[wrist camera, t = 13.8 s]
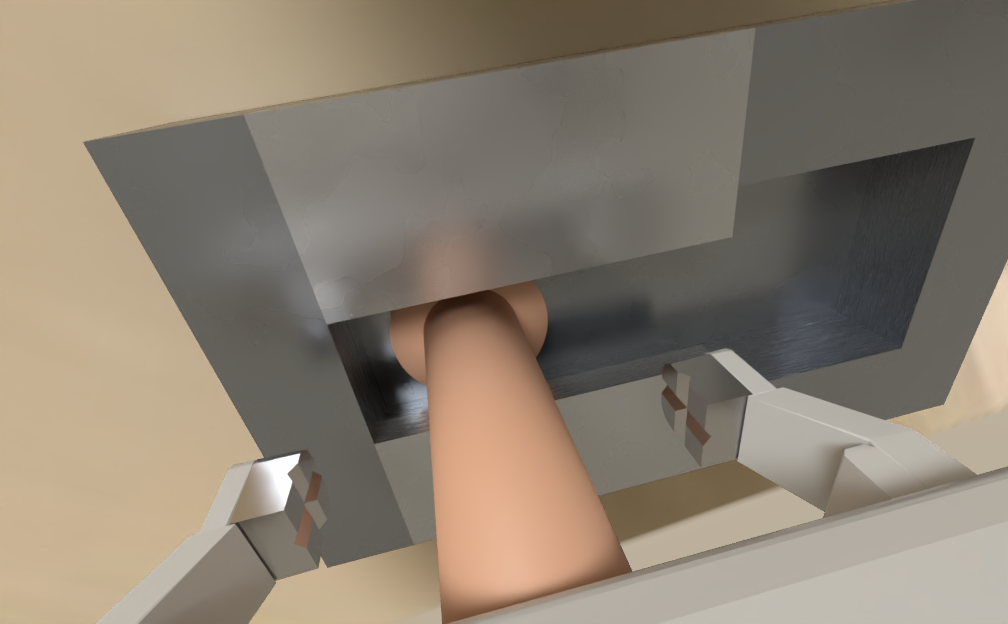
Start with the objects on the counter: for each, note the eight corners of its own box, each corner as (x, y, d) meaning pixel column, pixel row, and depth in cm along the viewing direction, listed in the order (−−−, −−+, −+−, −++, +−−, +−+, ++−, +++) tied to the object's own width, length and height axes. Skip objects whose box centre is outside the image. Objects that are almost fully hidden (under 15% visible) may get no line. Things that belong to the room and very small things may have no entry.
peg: (530, 230, 14) (788, 556, 5) (546, 359, 17) (736, 747, 7) (371, 263, 14) (292, 703, 4) (411, 391, 16) (420, 853, 7)
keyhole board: (975, -14, 14) (1137, -38, 11) (863, 354, 21) (943, 404, 18) (169, 123, 12) (82, 141, 9) (340, 484, 19) (327, 567, 16)
